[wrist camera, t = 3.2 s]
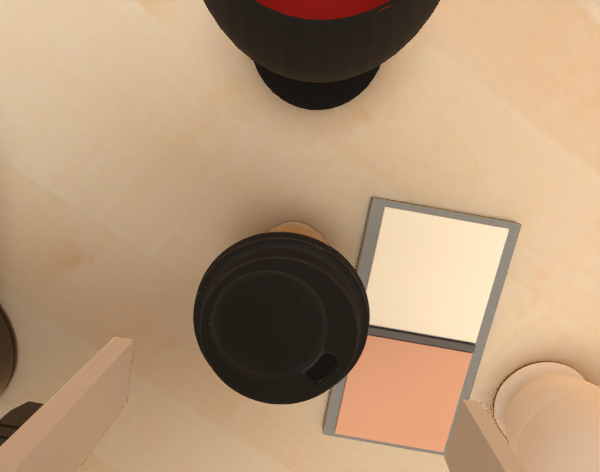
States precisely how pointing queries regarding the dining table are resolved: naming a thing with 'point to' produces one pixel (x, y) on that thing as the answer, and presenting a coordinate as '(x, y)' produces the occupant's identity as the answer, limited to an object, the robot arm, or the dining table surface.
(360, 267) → the makeup palette
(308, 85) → the wine glass
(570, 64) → the dining table surface
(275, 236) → the coffee cup
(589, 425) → the jar
